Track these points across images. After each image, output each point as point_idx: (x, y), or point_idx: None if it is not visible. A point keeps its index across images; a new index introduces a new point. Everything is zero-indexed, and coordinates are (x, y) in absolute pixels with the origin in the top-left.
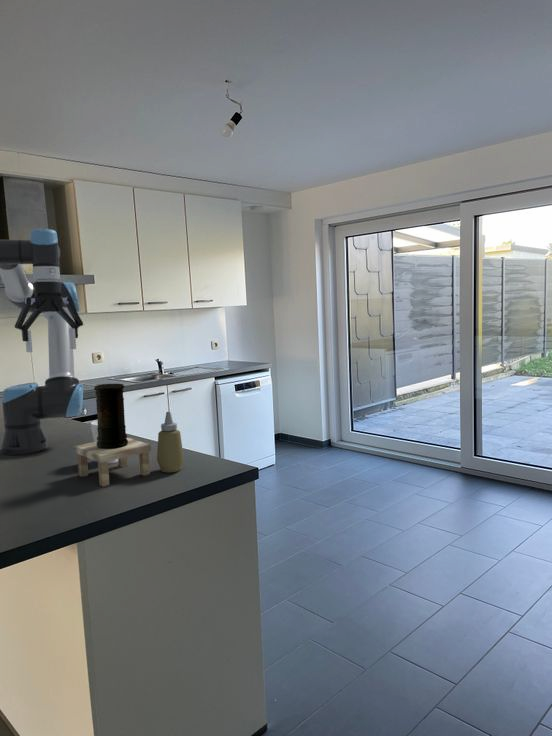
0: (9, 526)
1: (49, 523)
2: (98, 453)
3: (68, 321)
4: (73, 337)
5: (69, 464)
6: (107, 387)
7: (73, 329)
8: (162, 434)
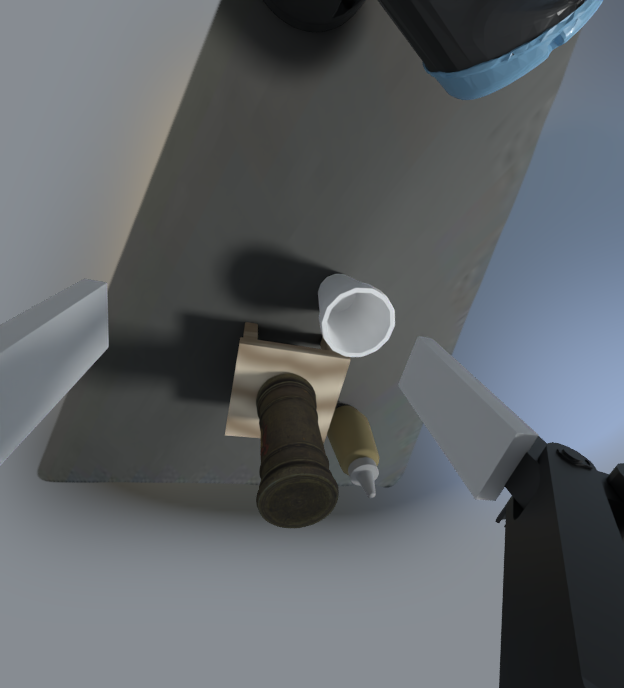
0: (58, 428)
1: (104, 453)
2: (233, 421)
3: (517, 556)
4: (435, 438)
5: (282, 239)
6: (271, 522)
7: (476, 493)
8: (341, 465)
